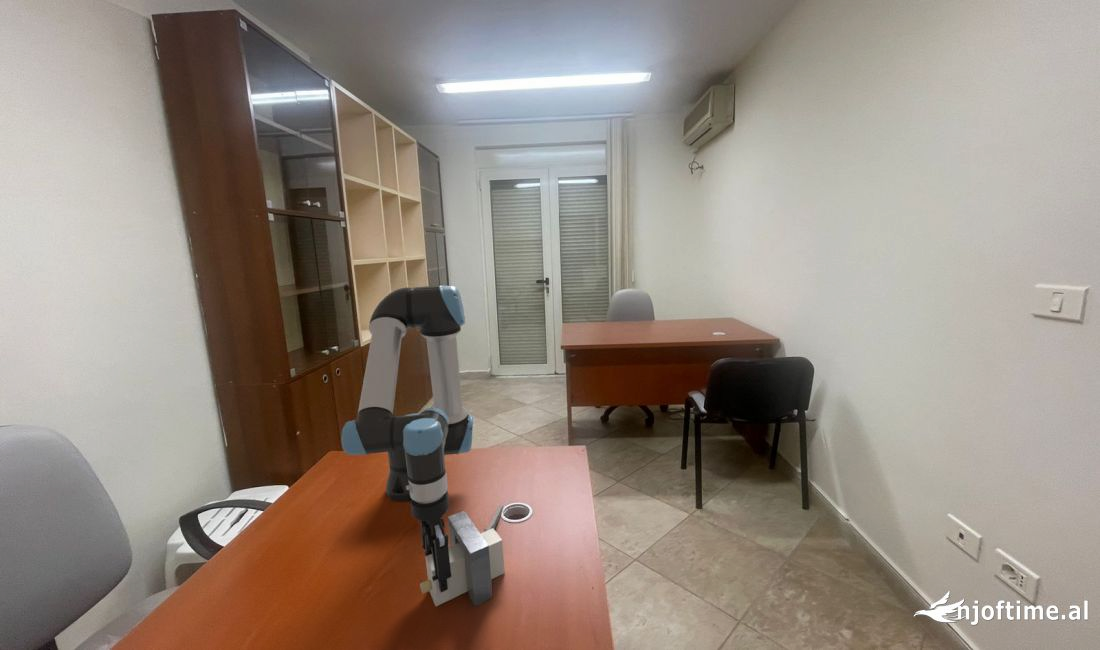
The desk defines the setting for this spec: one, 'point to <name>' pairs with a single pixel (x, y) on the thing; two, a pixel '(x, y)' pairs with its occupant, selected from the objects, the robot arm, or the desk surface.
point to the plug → (459, 568)
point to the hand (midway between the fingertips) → (439, 591)
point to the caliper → (495, 519)
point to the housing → (472, 556)
